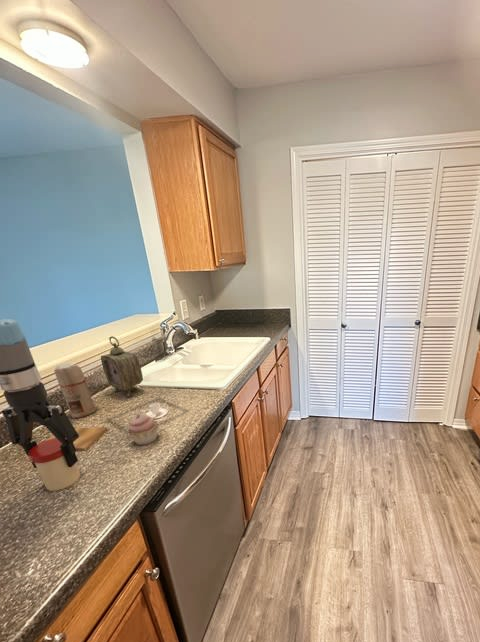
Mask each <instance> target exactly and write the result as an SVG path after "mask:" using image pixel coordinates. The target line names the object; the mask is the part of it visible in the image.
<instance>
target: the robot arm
mask: <svg viewBox="0 0 480 642" xmlns="http://www.w3.org/2000/svg"><path fill="white" fill-rule="evenodd" d="M42 381H43V380H42V377H41V375H40V372H39V370H38V367H37V365H36V363H35V360H34V358H33V354H32V351H31V349H30V347H29V344H28V341H27V339H26V335H25V334H24V332H23V330H22V329H21V326H20V324H19V323H18V321H16V320H15V319H12V318H3V319H0V389H1V390H2V391H3V396H4V398H5V400H6V403H7V404H8V407H7V408H4V409H3V410H1V414H2V416H3V417H4V418H5V422H6V425H7V431H8V433H9V438H10V442H11V444H12V445H13V446H16V445H19V447H22V449H23V451H24V453H25V455H26V456H27V457H29V455H28V453H29V451H30V450H31V449H32V448H33V447H34V446H36V445H38V442H37V441H36V440H34V438H33V431H34V423H39V424H40V425H41V426H43V427H45V428H46V429H47V430H48V431H49V432H50V433H51V434H52V436H53V435H54V436H55V437H56V438H57V439H58V440H59V441H60V442H61V443H62V445H61V446H60V448H61V450H62V452H63V455H64V457H65V460H66V462H67V465H68V467H72V466H73V465H74V464H75V463H76V464H77V463H78V462H79V459H78V457H77V454H76V452H77V450H76V448H75V446H74V443H73V442H74V441H75V440H76V439H77V438H79V435H78V433H77V431H76V430H75V427H74V424H73V423H72V421H71V420H70V418H69V417H68V416H67V414H66V411H65V407H64V405H63V404H62V403H59V404H58V405H52V404H50V402H49V401H48V393H47V389H46V387H45V384H44V383H43V382H42ZM65 438H66V439H65ZM30 462H31V464H32V466H33V468H34V469H37V467H36V465H35V463H33V462H32V461H31V460H30Z"/></svg>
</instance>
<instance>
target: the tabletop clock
mask: <svg viewBox="0 0 480 642" xmlns="http://www.w3.org/2000/svg"><path fill="white" fill-rule="evenodd" d="M112 339H114V340H115V341H116V342H114V343H113V342H112ZM108 340H109V343H110V344H111V346H112V348H110V351H109V353H107V354H103V355H100V361H101V365H102V369H103V372H104V375H105V379H106V380H107V382H108V384H109V385H110V386H111V387H112V388H114V390H113V391H114V392H115V393H118V392H119V390H120V391H124V390H126V389H127V393H126V397H127V398H131V397H132V393H131V391H132V392H133V391H135V390H136V387H135V386H137V385H140V384H141V383H142V382H143V381H144V376H143V372H142V367H141V364H140V361H139V359H138V356H137V355H136V354H135V353H132V352H130V351H125V350H124V349H123V347H120V342H119V340H118V338H116V337H115V336H112V335H111V336H110V337H109V338H108Z"/></svg>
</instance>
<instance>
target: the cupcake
mask: <svg viewBox="0 0 480 642" xmlns="http://www.w3.org/2000/svg"><path fill="white" fill-rule="evenodd" d="M158 429H159V423H158V421H156V420H155V419H153V418H152V417H150V416H147V415H146V413H140V412H139V413H137V414H136V415H135V416H134V417H132V418H131V420H130V423H129V424H128V425H127V430H126V432H127V435H128V436H129V437H131V438H132V440H133V442H135V444H136V445H138V446H147V445H150V444H152V443H153V442H155V441H156V440H157V438H158Z"/></svg>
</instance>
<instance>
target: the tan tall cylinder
mask: <svg viewBox="0 0 480 642" xmlns="http://www.w3.org/2000/svg"><path fill="white" fill-rule="evenodd" d="M53 372H54V375H55V378H56V379H57V383H58V386H59V387H60V390H61V392H62V395H63V397H64V400H65V402H66V404H67V407H68V410H69V413H70V415H71V418H73V419H77V418H85V417H87V416H89V415H92V414H93V413H94V412H96V411H97V409H96V407H95V403H94V400H93V399H92V396H91V392H90V390H89V387H88V383H87V381H86V378H85V375H84V372H83V370H82V369H81V367H80V366H79V365H78V364H69V363H67V364H60V365H56V367H55V369H54V370H53Z"/></svg>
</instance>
